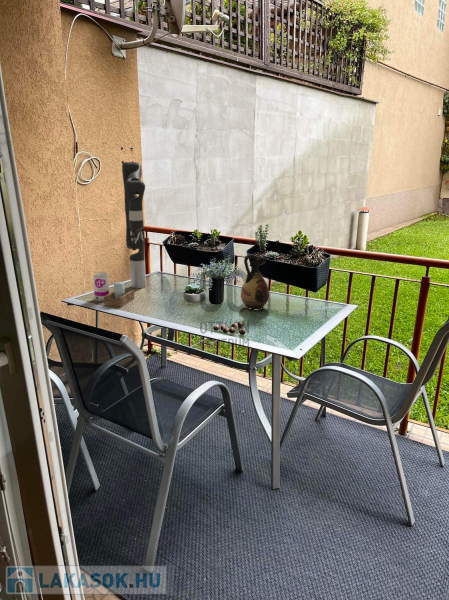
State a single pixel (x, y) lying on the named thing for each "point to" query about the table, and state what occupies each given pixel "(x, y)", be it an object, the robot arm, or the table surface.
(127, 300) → the wooden serving tray
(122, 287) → the domed pale cylinder
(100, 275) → the supplement can
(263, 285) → the ceramic jug
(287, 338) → the table surface
